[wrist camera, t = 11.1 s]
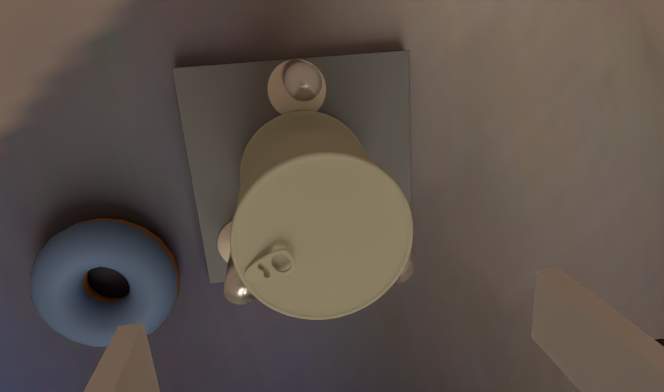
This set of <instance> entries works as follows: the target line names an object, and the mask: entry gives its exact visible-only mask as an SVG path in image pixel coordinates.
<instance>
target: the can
mask: <svg viewBox="0 0 664 392" xmlns="http://www.w3.org/2000/svg"><path fill="white" fill-rule="evenodd" d="M240 182H241V183H240V190H239V196H238V202H237V207H236V211H235V213H234V217H233V220H232V224H231V231H230V249H231V255H232V260H233V263H234V266H235V269H236V271H237V273H238V275H239V277H240V279H241V281H242V282H243V284H244V285H245V286H246V288H247V289H248V290H249V291H250V292H251V293H252V294H253V295H254V296H255V297H256V298H257V299H258V300H259V301H261V302H262V303H263V304H265V305H266V306H268V307H269V308H271V309H273V310H275V311H277V312H280V313H282V314H285V315H288V316H291V317H295V318H301V319H310V320H323V319H332V318H338V317H342V316H345V315H348V314H351V313H354V312H356V311H358V310H361V309H363V308H364V307H366V306H368V305H370V304H371V303H373V302H374V301H376V300H377V299H378V298H380V297H381V296H382V295H383V294H384V293H385V292H386V291H387V290H388V289H389V288H390V287H391V286H392V285H393V284H394V282H395V281H396V280H397V279H398V277H399V276H400V274H401V272H402V271H403V269H404V267H405V265H406V262H407V260H408V258H409V254H410V251H411V247H412V240H413V220H412V215H411V211H410V207H409V204H408V202H407V199H406V197H405V195H404V193H403V192H402V190H401V188H400V187H399V186H398V184H397V183H396V182H395V181H394V179H393V178H392V177H391V176H390V175H389V174H388V173H387V172H385V171H384V170H383V169H382V168H380V167H379V166H378V165H377V163H376V162H375V161H374V160H373V159H372V158H371V157H370V156H369V154H368V153H367V152H366V151H365V150H364V149H363V148H362V146H361V144H360V142H359V140H358V138H357V137H356V136H355V134H354V133H353V132H352V131H351V130H350V129H349V128H348V127H347V126H346V125H345V124H343V123H342V122H341V121H339V120H337V119H336V118H334V117H332V116H329V115H327V114H324V113H320V112H315V111H295V112H290V113H286V114H283V115H280V116H278V117H276V118H274V119H272V120H270V121H269V122H267V123H266V124H264V125H263V126H262V127H261V128H260V129H259V130H258V131H257V132H256V133H255V134H254V135H253V136H252V138H251V139H250V141H249V142H248V144H247V146H246V148H245V150H244V153H243V156H242V159H241V165H240Z"/></svg>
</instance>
